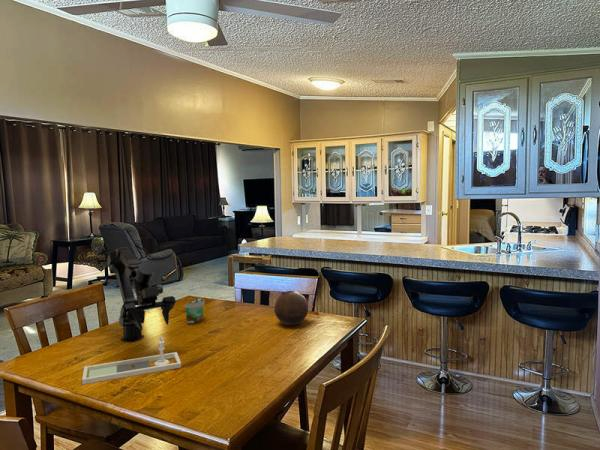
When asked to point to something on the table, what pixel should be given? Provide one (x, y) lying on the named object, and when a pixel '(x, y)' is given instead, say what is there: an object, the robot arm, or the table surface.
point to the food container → (194, 311)
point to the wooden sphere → (291, 308)
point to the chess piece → (161, 354)
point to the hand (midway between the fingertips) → (155, 326)
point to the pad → (102, 371)
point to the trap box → (130, 368)
